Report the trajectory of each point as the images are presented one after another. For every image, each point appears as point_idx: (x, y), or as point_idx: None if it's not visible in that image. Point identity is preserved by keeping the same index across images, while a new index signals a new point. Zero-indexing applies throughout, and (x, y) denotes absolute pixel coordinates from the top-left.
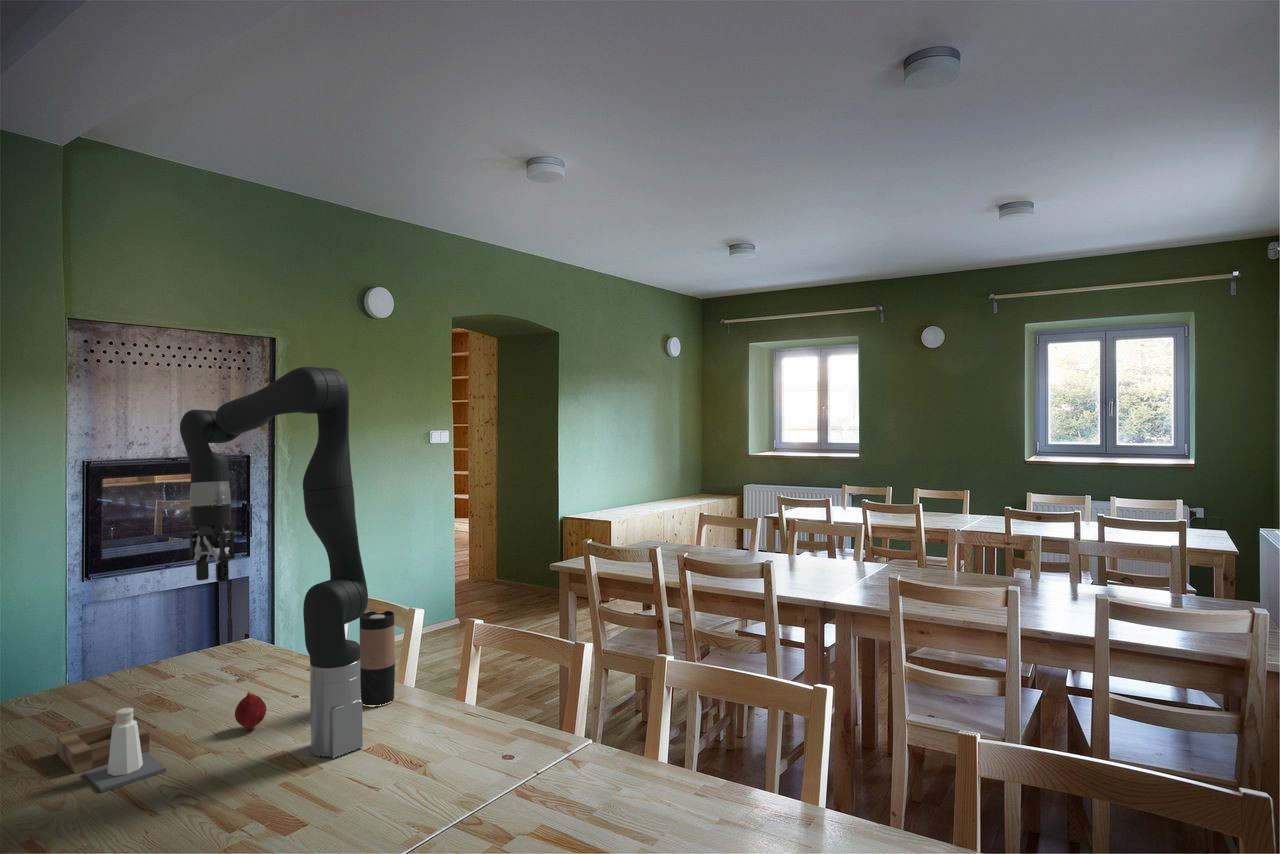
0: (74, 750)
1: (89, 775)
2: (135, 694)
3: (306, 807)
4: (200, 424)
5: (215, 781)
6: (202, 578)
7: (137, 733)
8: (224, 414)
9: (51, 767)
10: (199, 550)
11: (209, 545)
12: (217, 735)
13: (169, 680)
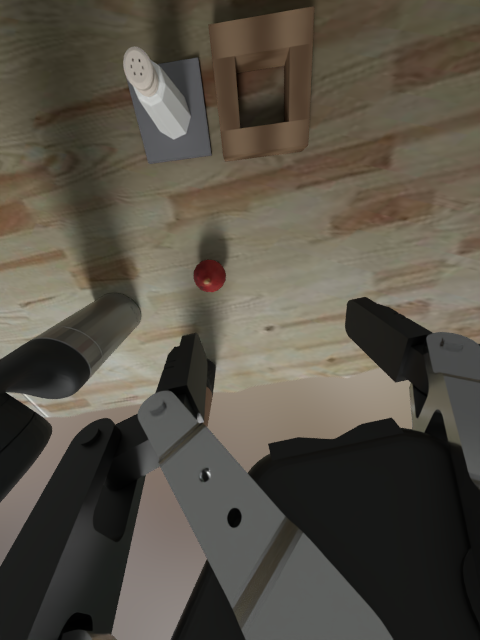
0: (226, 28)
1: (179, 62)
2: (445, 194)
3: (4, 252)
4: None
5: (95, 203)
6: (349, 315)
7: (153, 114)
8: None
9: (259, 13)
10: (444, 414)
11: (214, 522)
12: (218, 239)
13: (451, 244)
